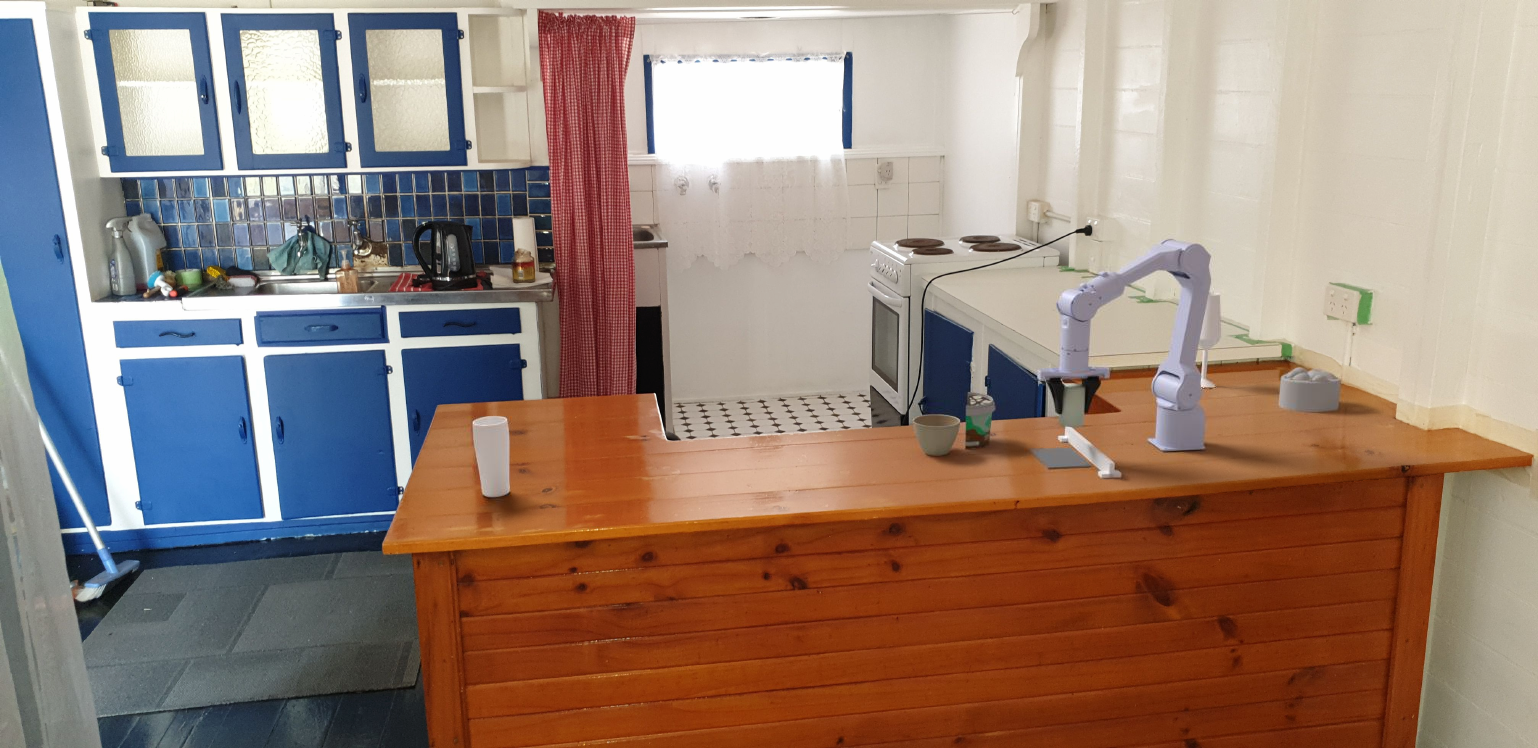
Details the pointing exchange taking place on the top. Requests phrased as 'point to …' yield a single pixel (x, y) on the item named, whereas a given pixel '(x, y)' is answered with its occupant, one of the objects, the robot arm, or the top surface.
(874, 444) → the top surface
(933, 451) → the flower pot
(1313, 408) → the lumpy-topped squat cylinder
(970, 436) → the food container
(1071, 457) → the mat
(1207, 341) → the champagne flute
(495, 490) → the drinking glass
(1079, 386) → the green cylinder
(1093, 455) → the low wall
